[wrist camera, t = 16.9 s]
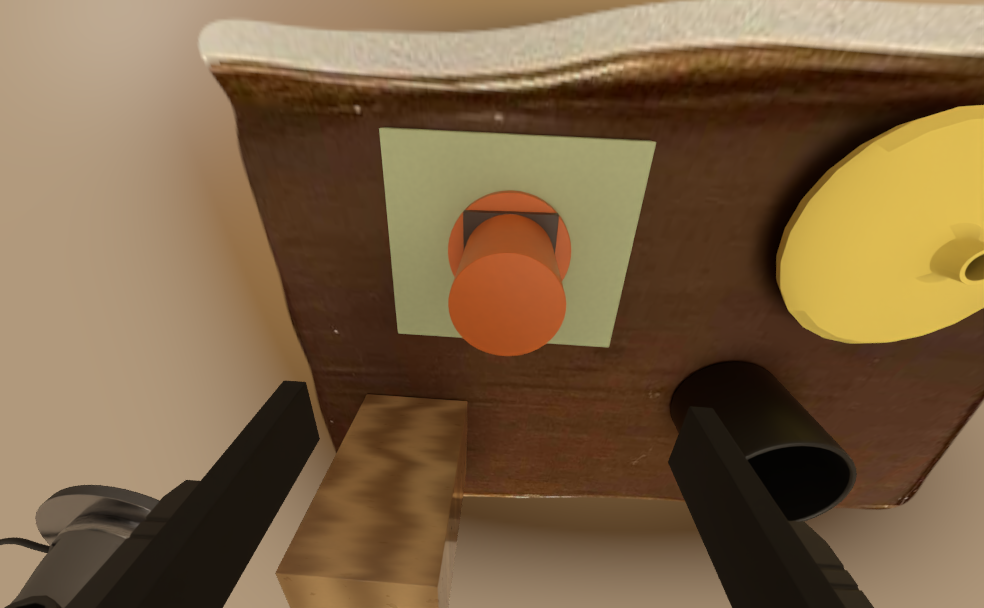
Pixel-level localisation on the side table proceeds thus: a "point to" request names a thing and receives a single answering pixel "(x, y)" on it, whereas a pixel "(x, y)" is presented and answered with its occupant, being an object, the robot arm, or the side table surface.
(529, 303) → the hat
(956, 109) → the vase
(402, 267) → the mat
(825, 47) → the side table surface
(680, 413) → the mug
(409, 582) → the block
